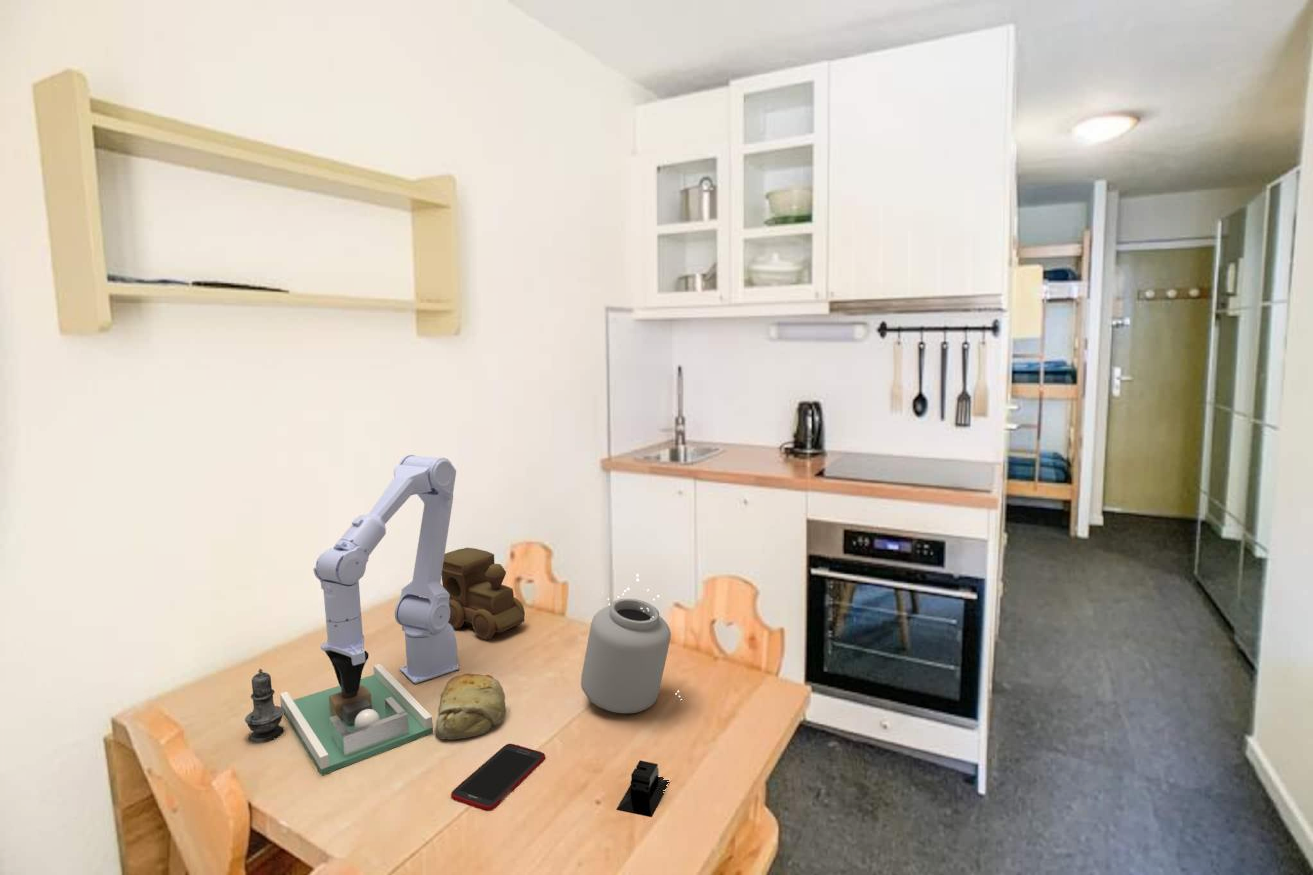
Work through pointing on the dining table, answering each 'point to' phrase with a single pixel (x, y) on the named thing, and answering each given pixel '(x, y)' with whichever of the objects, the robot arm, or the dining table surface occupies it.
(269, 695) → the salt shaker
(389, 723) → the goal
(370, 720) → the ball
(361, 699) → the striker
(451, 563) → the wooden toy train
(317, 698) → the pitch
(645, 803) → the black stepped block
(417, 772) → the dining table surface
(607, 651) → the jar
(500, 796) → the cell phone
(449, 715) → the pastry
